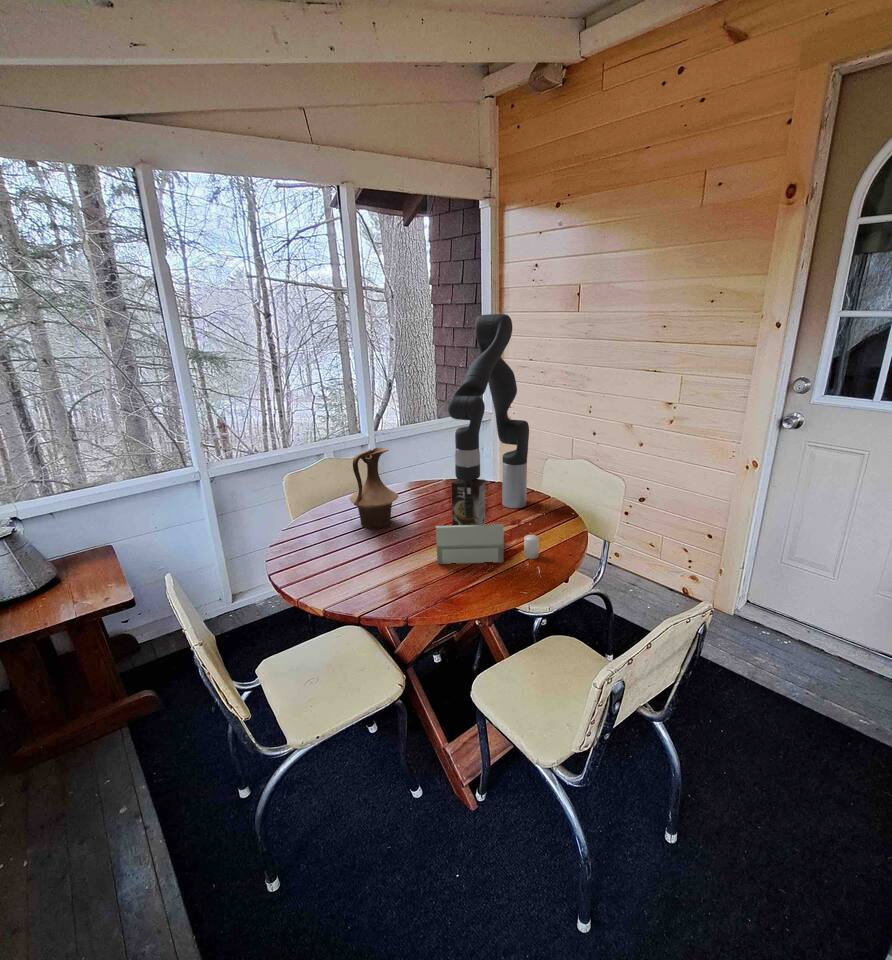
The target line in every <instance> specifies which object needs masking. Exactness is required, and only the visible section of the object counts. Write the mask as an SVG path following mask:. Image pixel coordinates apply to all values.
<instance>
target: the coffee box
mask: <svg viewBox="0 0 892 960" xmlns="http://www.w3.org/2000/svg"><path fill="white" fill-rule="evenodd" d="M472 487H473V497H474V498H473V504H474V505H473V517H472V518H466V516H465V505H464V504H465V500H464V499H463V492H465V490H464V489H465V482H464V480H460V479H458V478H455V479H454V480H453V481H452V482H451V513H452V514H451V515H452V516H451V519H452V521H451V522H452V526H455V525H486V479H482V478H477V479H474V480H472ZM467 502H471V499H467Z"/></svg>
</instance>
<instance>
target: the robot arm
mask: <svg viewBox="0 0 892 960" xmlns="http://www.w3.org/2000/svg"><path fill="white" fill-rule="evenodd" d="M474 332H475V338H476V341H477V345H478V348H479V351H480V353H481V354H479V356H477V357H476V358H475V359H474V360H473V361H472V362H471V364H470V365H469V366H468V369H467V372H466V374H465V377H464V379H463V382H462V383H461V384H460V386H459V387H458V388H457V389H456V390H455V391H454V393H453V394H452V396H451V397H450V400H449V401H448V406H447V409H448V410H447V412H448V414H449V416H450V418H452V419H454V420H459V421H460V420H461V421H469V425H468V426H461V427H459V428H457V429H456V431H455V434H454V436H455V440H454V443H455V451H454V463H455V467H454V469H455V471H454V472H455V474H454V475H455V479H457V478H458V479H460V480H464V482H465V489H464V490H465V492H463V499H464V500H465V504H464V505H465V516H466V518H472V517H473V505H474V504H473V498H474V497H473V487H472V480H474V479H480V476H481V453H480V430H481V426H482V422H483V417H484V414H485V408H486V407H485V406H486V405H485V401H484V399H482V396H483V395H484V394H485V392H486V390H487V387H488V388H489V391H490V395H491V398H492V403H493V408H494V415H495V422H496V429H497V435H498V436H497V437H498V440H499V441H500V442H501V443H502V444H505V445H513V446H516V449H514V450H511V451H507V452H505V453H504V454H502V459H501V460H502V482H501V483H502V489H501V490H502V491H501V492H502V494H501V495H502V496H501V497H502V498H501V499H502V500H501V501H502V502H501V504H502V506H503V507H505V508H508V509H521V508H524V507H526V505H527V487H528V486H527V484H528V483H527V482H528V481H527V480H528V479H527V478H528V455H529V454H528V453H529V438H530V437H529V436H530V425H529V423H528V421H526V420H521V419H512V418H511V419H510V418H509V416H508V411H509V409H510V407H511V405H512V404H513V402H514V401H515V399H516V396H517V393H518V386H517V380H516V376H515V372H514V371H513V370H512V368H511V367H510V366H509V364H508V363H507V362H506V361H505V360H504V359H503V358H502V355H503V353H504V351H505V349H506V347H508V344H509V343H510V341H511V338H512V334H513V321H512V318H511V317H510V315H508V314H506V313H505V314H504V313H491V314H481V315H478V316H477V318H476V319H475V322H474ZM467 499H471V502H467Z"/></svg>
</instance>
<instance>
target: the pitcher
mask: <svg viewBox="0 0 892 960" xmlns="http://www.w3.org/2000/svg"><path fill="white" fill-rule="evenodd" d="M388 451H389V449H388V448H385V447H374V448H373V449H370V448H369V449H366V450H364V451H362V452H359V453H357V454H356V455H355V456H354V457H353V460H352V471H353V474H354V477H355V479H356V481H357V482H356V483H357V486H358V490H357V491H356V492H354V493H353V494H352V495H351V496H350V497H349V501H350V502H351V504H353V505H354V506H355V507H357V510H358V514H359V519H360V525H361V526H362V527H363V528H365V529H369V530H377V529H383V528H386V527H388V526H390V525H391V523H392V519H391V518H392V516H391V515H392V509H393V507H392V505H393V503H394V502H395V501H396V500H397V499H399V494H398V493H397V492H395V491H393V490H392V489H390V488H389V487H388V486H386V485H385V484H384V483H383V481H382V480H381V478H380V474H379V459H380V458H381V456H382V454H384V453H386V452H388ZM360 460H362V461H363V462H364V463H365V464H366V468H367V469H366V470H367V471H366V472H367V474H366V475H367V476H366V479H365V482H364V484H363V483H362V478H361V474H360V471H359V461H360Z"/></svg>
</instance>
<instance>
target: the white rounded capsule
mask: <svg viewBox="0 0 892 960" xmlns="http://www.w3.org/2000/svg"><path fill="white" fill-rule="evenodd" d="M523 538H524V540H523V541H524V542H523V543H524V544H523V556H524V557H525V558H526V559H530V560H534V559H537V558H539V551H540V549H539V548H540V547H539V546H540V537H539V536H538V535H535V534H527V535H525V536H524V537H523Z"/></svg>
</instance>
